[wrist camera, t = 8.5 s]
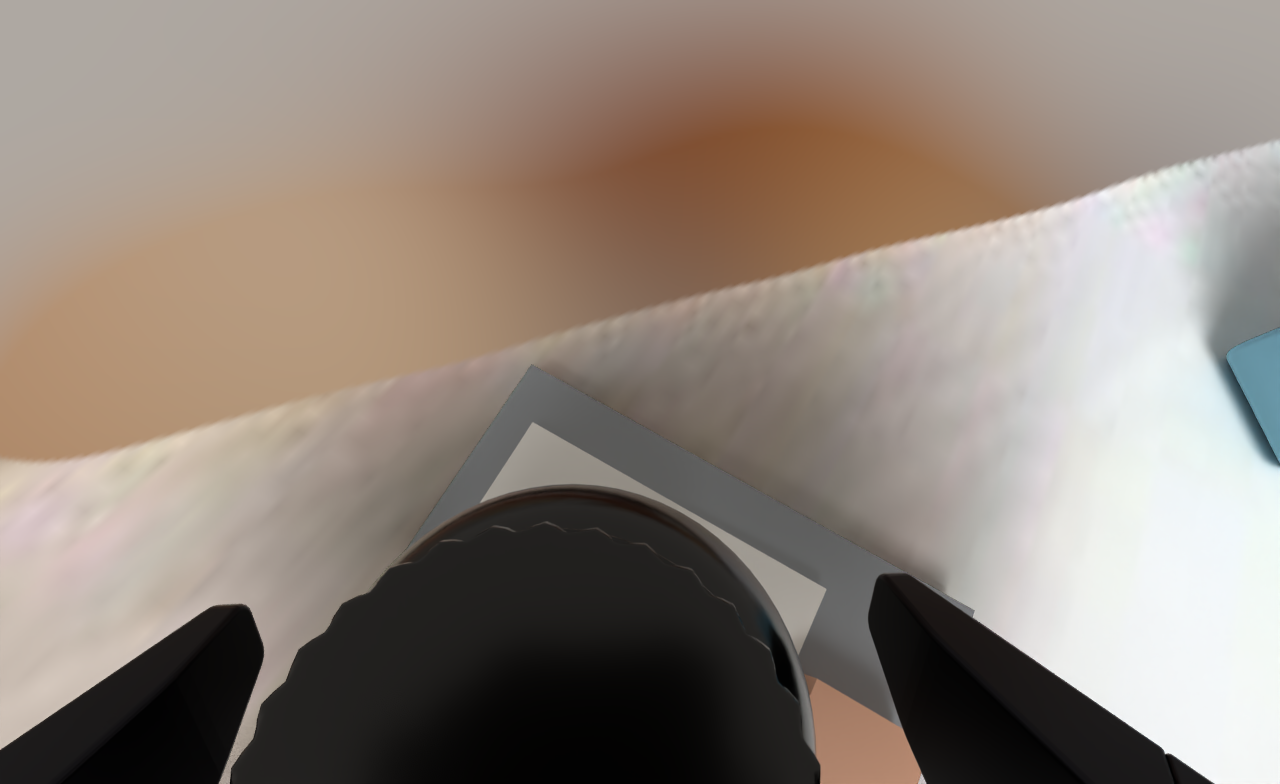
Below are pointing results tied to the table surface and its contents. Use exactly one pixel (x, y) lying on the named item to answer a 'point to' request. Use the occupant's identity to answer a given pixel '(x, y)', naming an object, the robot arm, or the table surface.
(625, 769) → the supplement bottle
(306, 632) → the table surface
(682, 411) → the table surface
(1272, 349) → the blue rounded square block
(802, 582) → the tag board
